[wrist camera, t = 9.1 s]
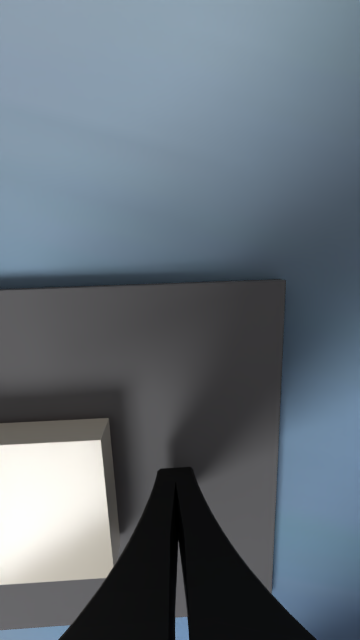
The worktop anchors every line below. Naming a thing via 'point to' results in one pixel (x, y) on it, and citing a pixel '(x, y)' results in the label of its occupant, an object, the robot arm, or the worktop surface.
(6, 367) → the mat
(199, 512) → the robot arm
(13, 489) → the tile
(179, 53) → the worktop surface
